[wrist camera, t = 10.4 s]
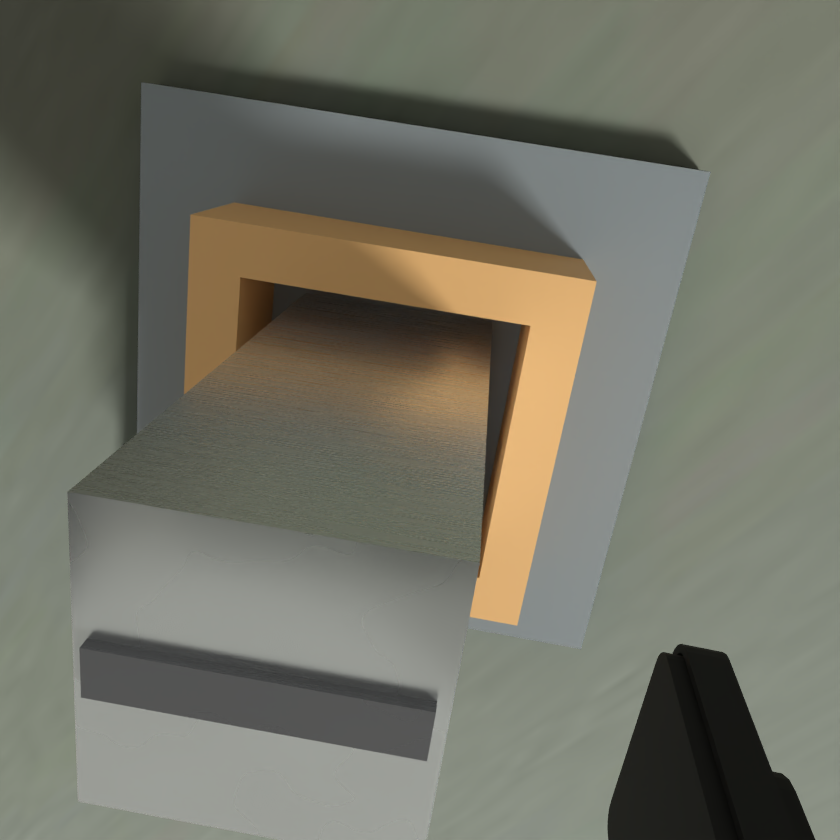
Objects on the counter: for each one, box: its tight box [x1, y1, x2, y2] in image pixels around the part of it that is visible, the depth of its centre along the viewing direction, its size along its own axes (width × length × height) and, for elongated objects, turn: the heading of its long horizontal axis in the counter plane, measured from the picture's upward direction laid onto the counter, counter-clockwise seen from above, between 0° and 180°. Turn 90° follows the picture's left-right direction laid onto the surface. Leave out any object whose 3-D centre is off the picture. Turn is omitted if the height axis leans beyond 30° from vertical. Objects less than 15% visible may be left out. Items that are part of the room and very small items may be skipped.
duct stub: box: [68, 293, 492, 840], centre depth 16 cm, size 5×5×12 cm
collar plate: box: [137, 82, 710, 649], centre depth 20 cm, size 14×14×4 cm
